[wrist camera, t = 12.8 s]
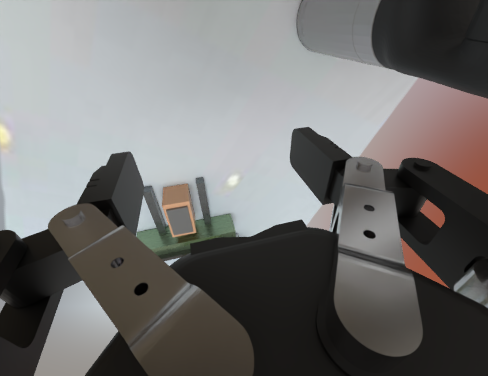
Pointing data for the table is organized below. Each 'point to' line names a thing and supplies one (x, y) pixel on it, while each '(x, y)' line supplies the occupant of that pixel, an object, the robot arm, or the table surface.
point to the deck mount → (180, 245)
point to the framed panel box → (179, 210)
